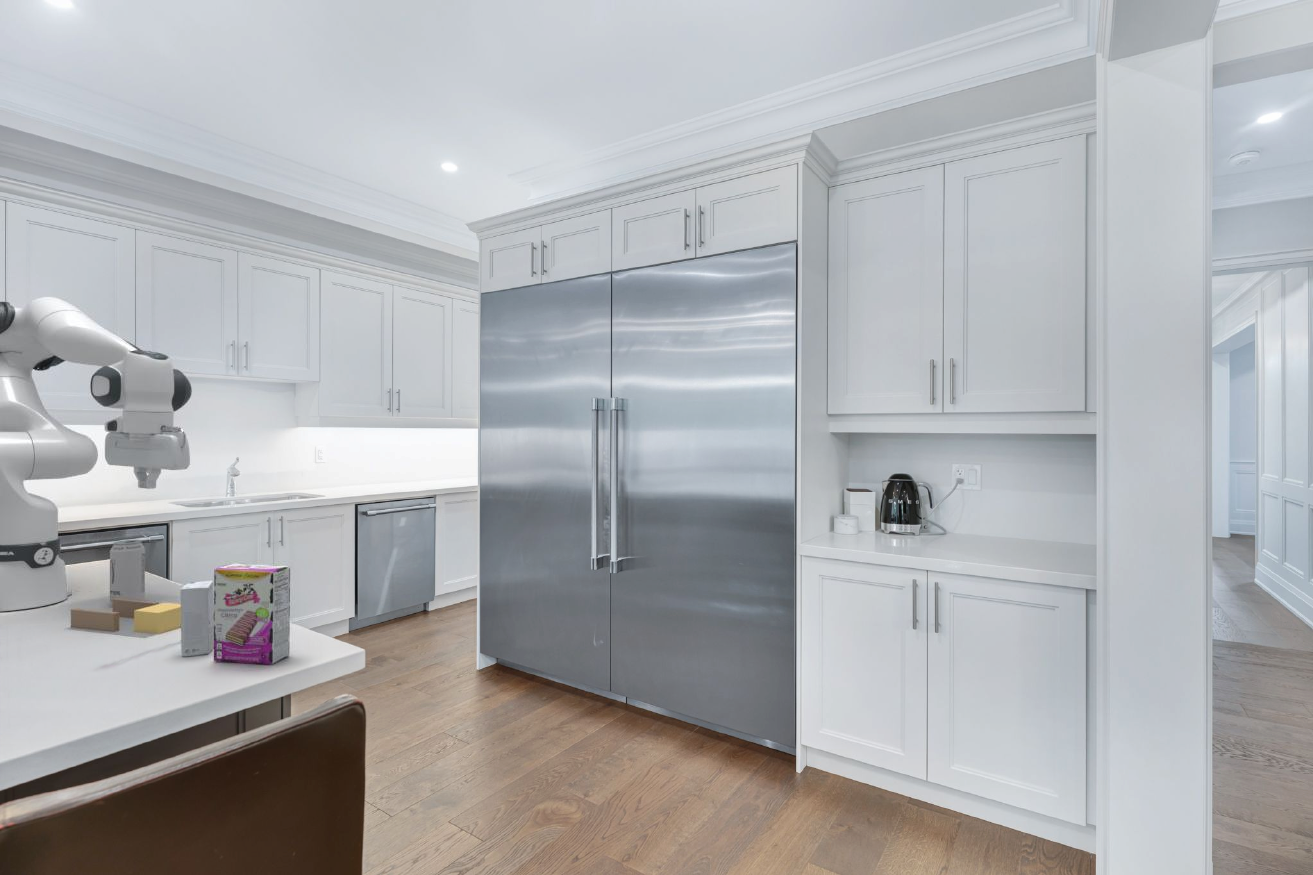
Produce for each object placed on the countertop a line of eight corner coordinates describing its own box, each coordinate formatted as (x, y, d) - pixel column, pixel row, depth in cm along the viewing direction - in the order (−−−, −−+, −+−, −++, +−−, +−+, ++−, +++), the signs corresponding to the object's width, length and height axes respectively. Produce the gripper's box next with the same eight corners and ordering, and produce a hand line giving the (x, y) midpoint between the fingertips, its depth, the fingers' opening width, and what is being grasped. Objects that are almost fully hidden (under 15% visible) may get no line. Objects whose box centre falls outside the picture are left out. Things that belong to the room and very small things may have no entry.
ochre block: (134, 631, 126) (134, 610, 126) (164, 622, 132) (164, 602, 132) (158, 633, 125) (158, 612, 125) (187, 624, 130) (187, 604, 130)
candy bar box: (211, 662, 113) (211, 568, 112) (233, 653, 118) (233, 562, 117) (272, 666, 111) (272, 570, 111) (291, 656, 116) (291, 564, 116)
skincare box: (209, 654, 117) (210, 586, 117) (179, 657, 115) (179, 589, 115) (215, 643, 122) (216, 579, 122) (186, 647, 120) (187, 581, 120)
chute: (64, 633, 127) (64, 610, 127) (122, 618, 138) (122, 596, 137) (144, 643, 122) (144, 619, 122) (198, 626, 133) (198, 604, 133)
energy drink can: (107, 609, 144) (107, 541, 144) (141, 604, 149) (141, 538, 148) (112, 614, 140) (113, 545, 140) (147, 608, 145) (147, 541, 144)
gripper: (199, 427, 143) (197, 490, 143) (128, 423, 148) (127, 483, 148) (170, 427, 136) (169, 493, 137) (98, 423, 142) (97, 486, 142)
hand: (147, 488), depth 143 cm, fingers closed
